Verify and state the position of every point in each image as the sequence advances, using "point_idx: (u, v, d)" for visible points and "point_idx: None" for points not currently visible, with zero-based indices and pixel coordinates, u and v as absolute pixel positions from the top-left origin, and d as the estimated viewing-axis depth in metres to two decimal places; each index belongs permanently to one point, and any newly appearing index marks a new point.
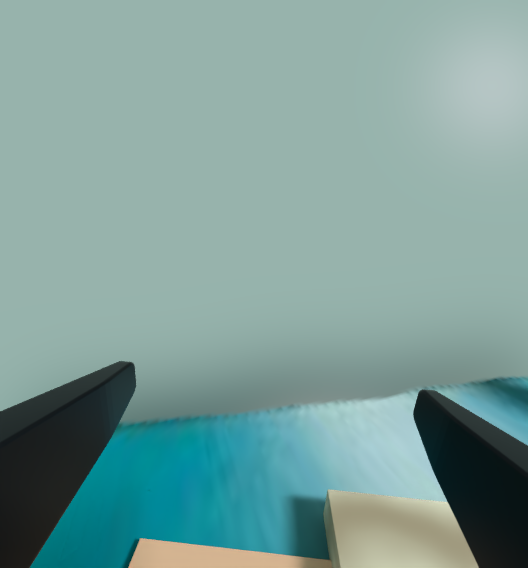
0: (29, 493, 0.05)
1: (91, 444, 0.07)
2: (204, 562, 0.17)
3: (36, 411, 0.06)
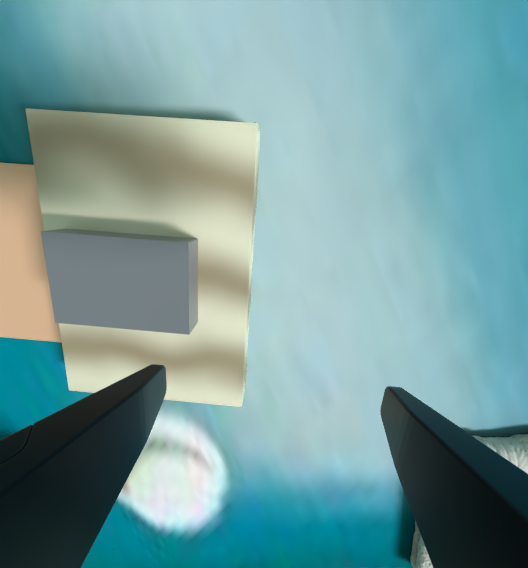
0: (79, 499, 0.05)
1: (130, 448, 0.07)
2: None
3: (83, 416, 0.06)
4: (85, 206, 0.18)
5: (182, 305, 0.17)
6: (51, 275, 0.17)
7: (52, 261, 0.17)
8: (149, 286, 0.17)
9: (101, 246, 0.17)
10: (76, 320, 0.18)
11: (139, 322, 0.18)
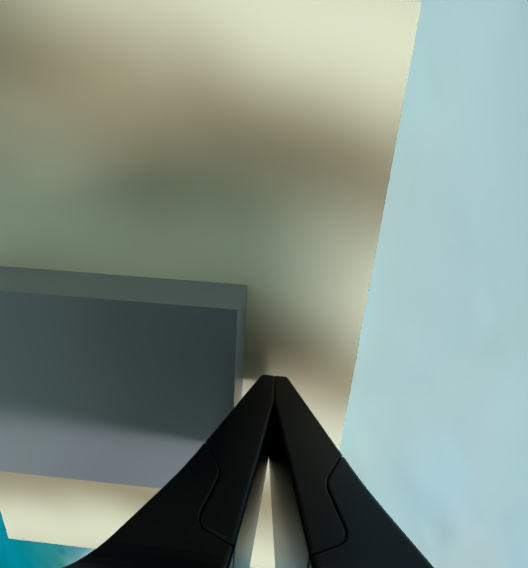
0: (253, 518, 0.05)
1: (266, 462, 0.07)
2: None
3: (247, 432, 0.06)
4: (5, 216, 0.08)
5: None
6: None
7: None
8: (141, 401, 0.07)
9: (23, 314, 0.07)
10: None
11: (122, 471, 0.08)
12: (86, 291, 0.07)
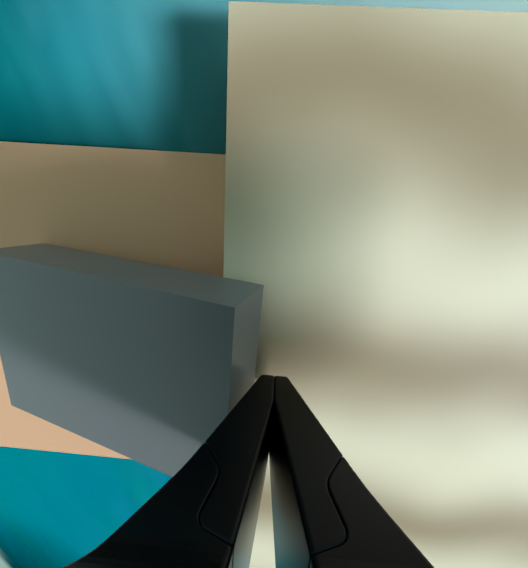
0: (252, 518, 0.05)
1: (266, 462, 0.07)
2: (15, 168, 0.10)
3: (246, 432, 0.06)
4: (328, 242, 0.08)
5: None
6: None
7: None
8: (148, 384, 0.08)
9: (63, 289, 0.08)
10: (38, 410, 0.10)
11: (131, 445, 0.09)
12: (112, 274, 0.08)
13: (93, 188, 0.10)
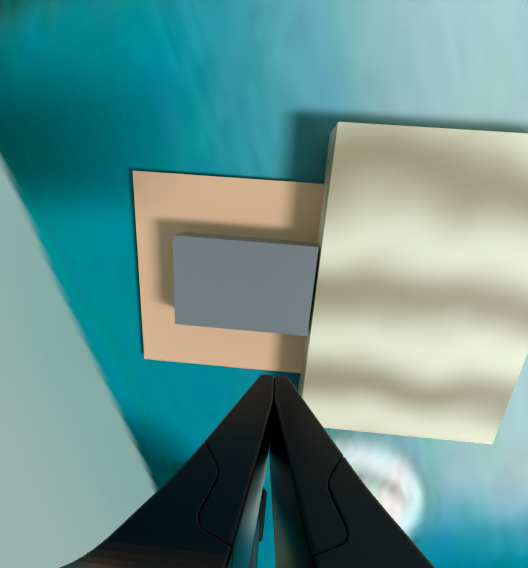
0: (251, 518, 0.05)
1: (265, 462, 0.07)
2: (200, 189, 0.18)
3: (245, 432, 0.06)
4: (376, 229, 0.16)
5: (304, 307, 0.18)
6: (177, 278, 0.18)
7: (180, 264, 0.17)
8: (273, 288, 0.18)
9: (231, 249, 0.17)
10: (196, 322, 0.19)
11: (259, 324, 0.18)
12: (255, 241, 0.17)
13: (242, 200, 0.18)
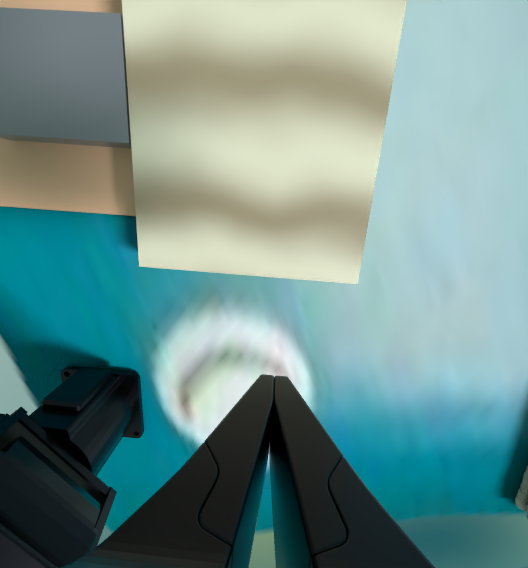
0: (251, 518, 0.05)
1: (265, 462, 0.07)
2: None
3: (245, 432, 0.06)
4: None
5: (118, 102, 0.15)
6: None
7: None
8: (79, 76, 0.15)
9: (21, 22, 0.14)
10: (2, 128, 0.16)
11: (72, 128, 0.16)
12: None
13: None
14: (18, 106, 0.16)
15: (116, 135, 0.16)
